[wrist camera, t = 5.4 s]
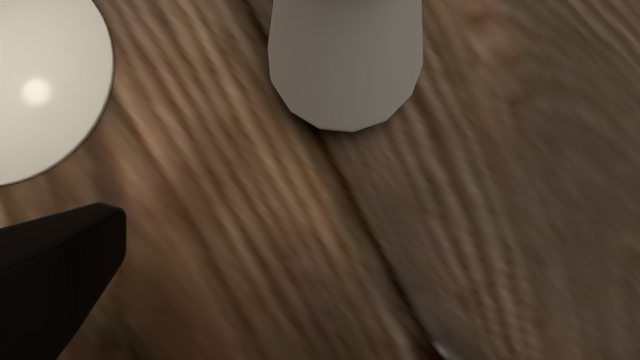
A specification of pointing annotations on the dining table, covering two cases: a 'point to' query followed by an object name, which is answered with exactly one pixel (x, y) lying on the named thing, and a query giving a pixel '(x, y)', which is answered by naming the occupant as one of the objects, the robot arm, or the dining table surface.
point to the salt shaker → (345, 59)
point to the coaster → (50, 82)
